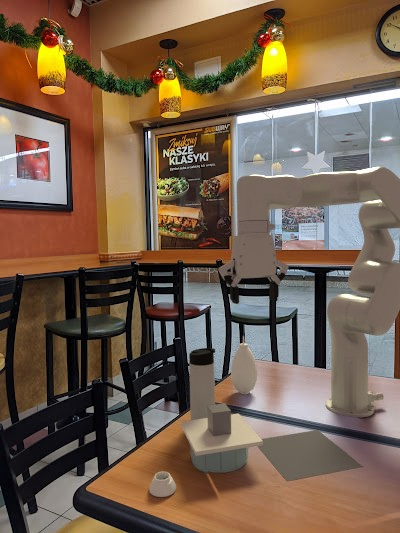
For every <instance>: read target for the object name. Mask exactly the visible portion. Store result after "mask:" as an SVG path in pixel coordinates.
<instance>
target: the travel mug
mask: <svg viewBox="0 0 400 533" xmlns="http://www.w3.org/2000/svg"><path fill="white" fill-rule="evenodd" d="M215 353H216V349H215V348H212V347H211V348H210V347H205V348H204V347H203V348H197V349H196V348H195V349H194V350H191V352H189V353H188V355H189V360H188V362H189V363H188V364H189V365H188V366H189V400H190V401H189V404H190V420H196V419H203V418H208V415H207V406H209V405H216V389H215V388H216V386H215V385H216V382H215V381H216V380H215V359H214V358H215V356H214V355H215Z"/></svg>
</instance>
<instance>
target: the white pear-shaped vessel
mask: <svg viewBox="0 0 400 533" xmlns="http://www.w3.org/2000/svg"><path fill="white" fill-rule="evenodd" d="M230 369H231V370H230V379H231V382H232V385H233V387H234V389H235V390H236V391H237V392H238V393H240V394H242V395H248V394H249V393H251V391H253V390H254V388H255V386H256V384H257V380H258V367H257V363H256V359H255V356H254V354H253V352H252V350H251V349H250V347H249V344H248V343H245V336H244V335H243V336H242V343H239V347H238V348H237V349H236V350H235V354H234V355H233V359H232V362H231V367H230Z"/></svg>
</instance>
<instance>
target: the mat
mask: <svg viewBox="0 0 400 533" xmlns="http://www.w3.org/2000/svg"><path fill="white" fill-rule="evenodd" d="M261 440H262V441H263V445H260V446H257V448H258V449H259V450H260V452H261V453H262V454H263V455H264V456H265V457H266V459H267V460H268V461H269V462H270V464H271V465H273V467H274V468H275V469H276V471H277V472H278V473H279V474H280V475H281V477H282V478H283V479H284V480H285V481H286V482H290V481H295V480H300V479H306V478H312V477H316V476H321V475H327V474H333V473H338V472H343V471H348V470H353V469H359V468H363V467H364V466H363V465H362V464H361V463H359V462H358V461H357V460H356V459H354V458H353V457H352V456H351V455H349V453H347V452H346V451H345V450H344V449H342V448H341V447H340V446H338V445H337V444H336V443H335V442H334V441H332V440H331V439H330V438H329V437H327V436H326V435H325V434H324V433H323V432H321V431H320V429H319V430H318V429H315V430H309V431H302V432H297V433H290V434H283V435H278V436H272V437H266V438H261Z"/></svg>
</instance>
